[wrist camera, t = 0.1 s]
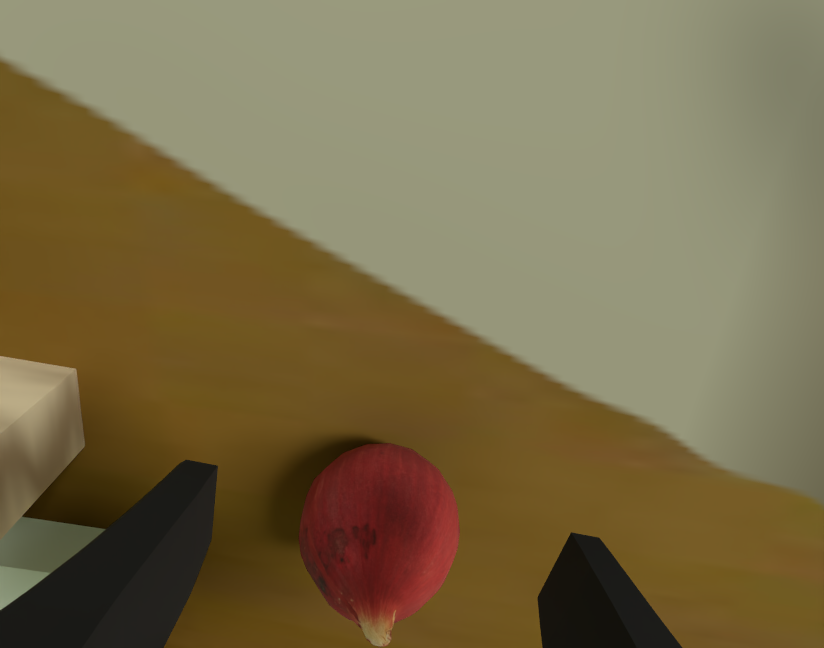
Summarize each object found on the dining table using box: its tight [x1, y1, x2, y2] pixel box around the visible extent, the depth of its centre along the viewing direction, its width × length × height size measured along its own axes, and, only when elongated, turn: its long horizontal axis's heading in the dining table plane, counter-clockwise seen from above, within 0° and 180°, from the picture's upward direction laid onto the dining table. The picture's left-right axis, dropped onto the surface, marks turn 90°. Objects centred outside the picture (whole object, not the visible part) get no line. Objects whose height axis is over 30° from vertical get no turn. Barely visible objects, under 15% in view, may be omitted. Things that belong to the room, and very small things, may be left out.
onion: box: [299, 443, 460, 647], centre depth 19 cm, size 6×6×8 cm
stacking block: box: [0, 517, 106, 610], centre depth 26 cm, size 10×10×3 cm
